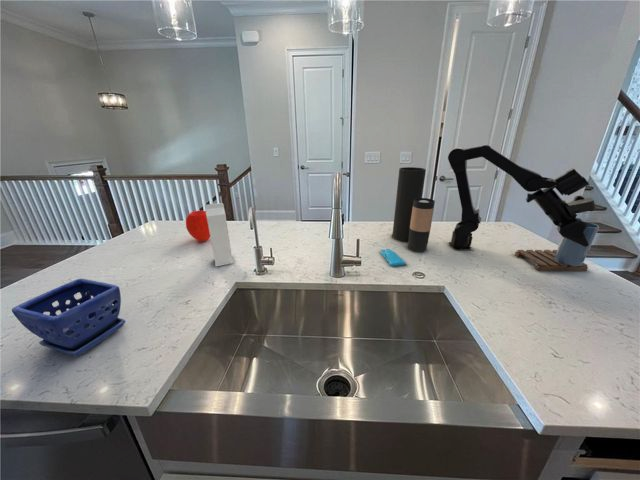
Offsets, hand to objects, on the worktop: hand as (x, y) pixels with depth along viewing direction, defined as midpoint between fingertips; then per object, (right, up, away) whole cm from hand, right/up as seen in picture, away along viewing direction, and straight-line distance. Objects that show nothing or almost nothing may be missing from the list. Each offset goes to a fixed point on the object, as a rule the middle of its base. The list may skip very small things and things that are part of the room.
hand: (583, 241), depth 85 cm
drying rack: (-5, -8, +7) cm, 12 cm away
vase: (-49, +1, +31) cm, 58 cm away
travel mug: (-48, -3, +20) cm, 52 cm away
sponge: (-60, -7, +12) cm, 61 cm away
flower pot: (-142, -23, -25) cm, 146 cm away
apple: (-139, 0, +31) cm, 143 cm away
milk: (-123, -8, +11) cm, 124 cm away
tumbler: (-2, -7, +3) cm, 8 cm away
